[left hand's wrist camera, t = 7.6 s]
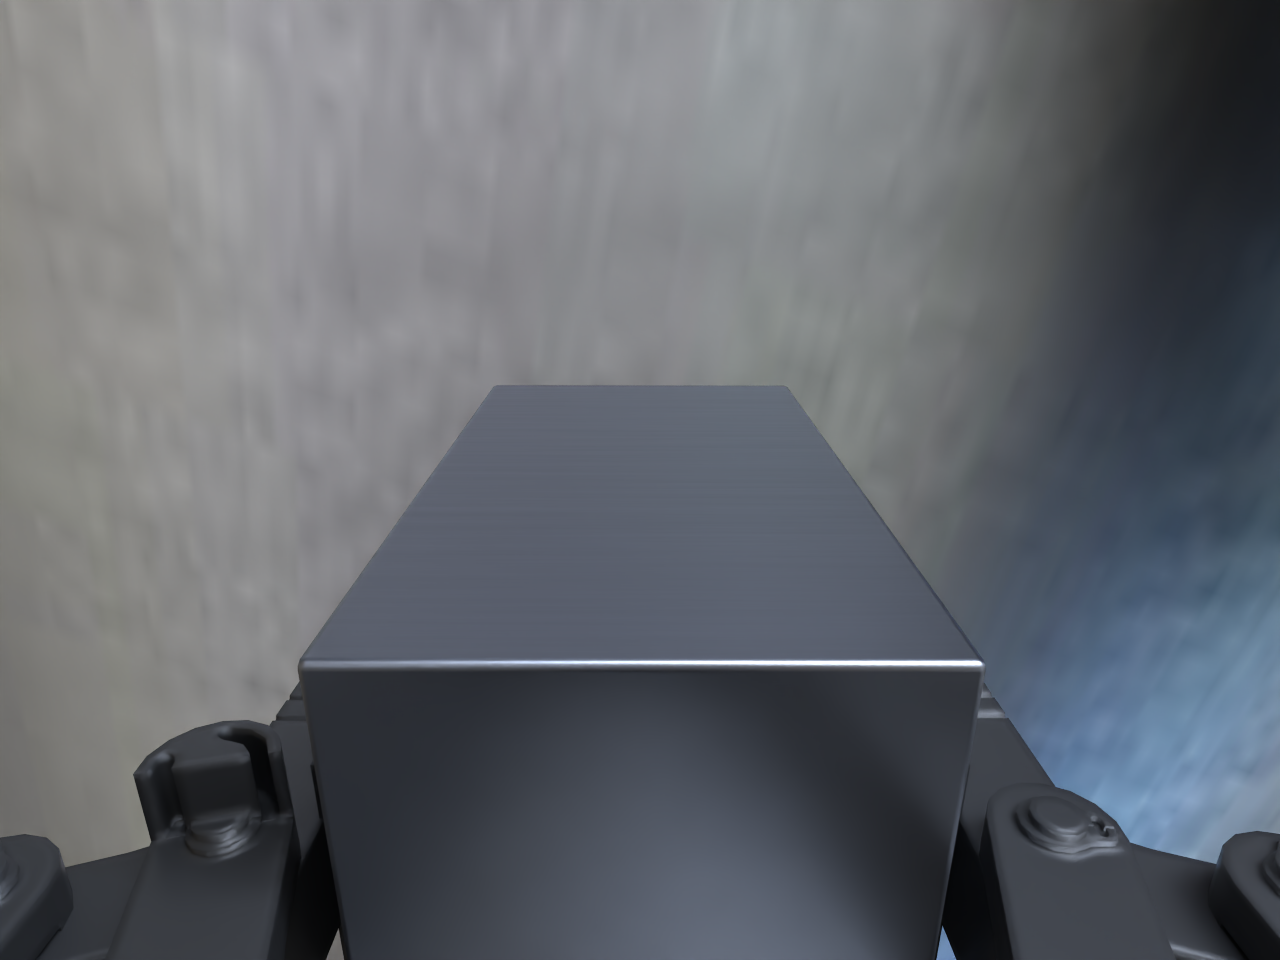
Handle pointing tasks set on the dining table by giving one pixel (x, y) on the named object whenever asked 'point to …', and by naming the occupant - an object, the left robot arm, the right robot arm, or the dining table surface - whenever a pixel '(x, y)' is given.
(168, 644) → the dining table surface
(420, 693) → the bar
